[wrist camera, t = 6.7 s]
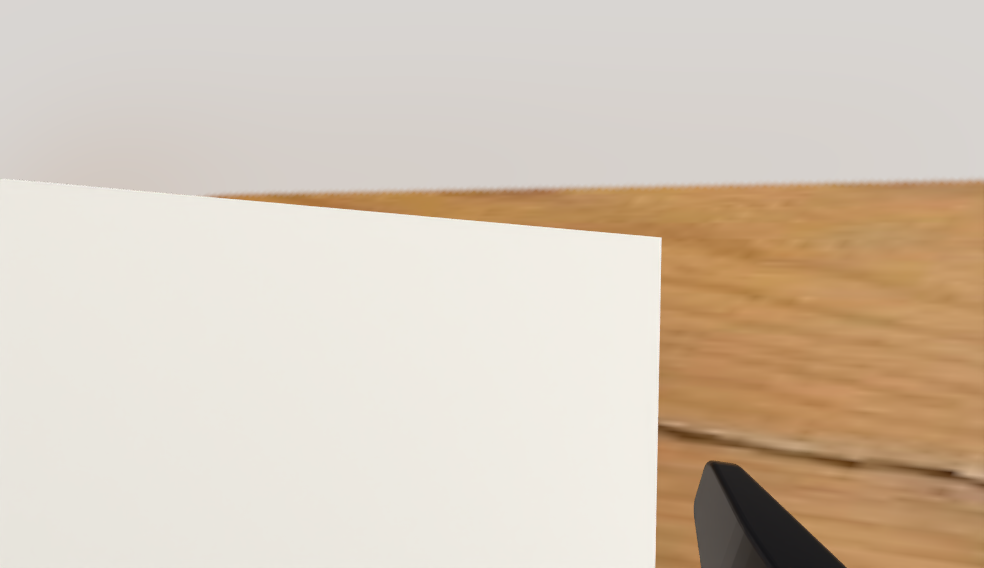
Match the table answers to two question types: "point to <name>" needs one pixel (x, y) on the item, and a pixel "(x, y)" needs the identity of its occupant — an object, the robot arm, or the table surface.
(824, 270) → the table surface
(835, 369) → the table surface
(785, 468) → the table surface
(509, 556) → the cream block
